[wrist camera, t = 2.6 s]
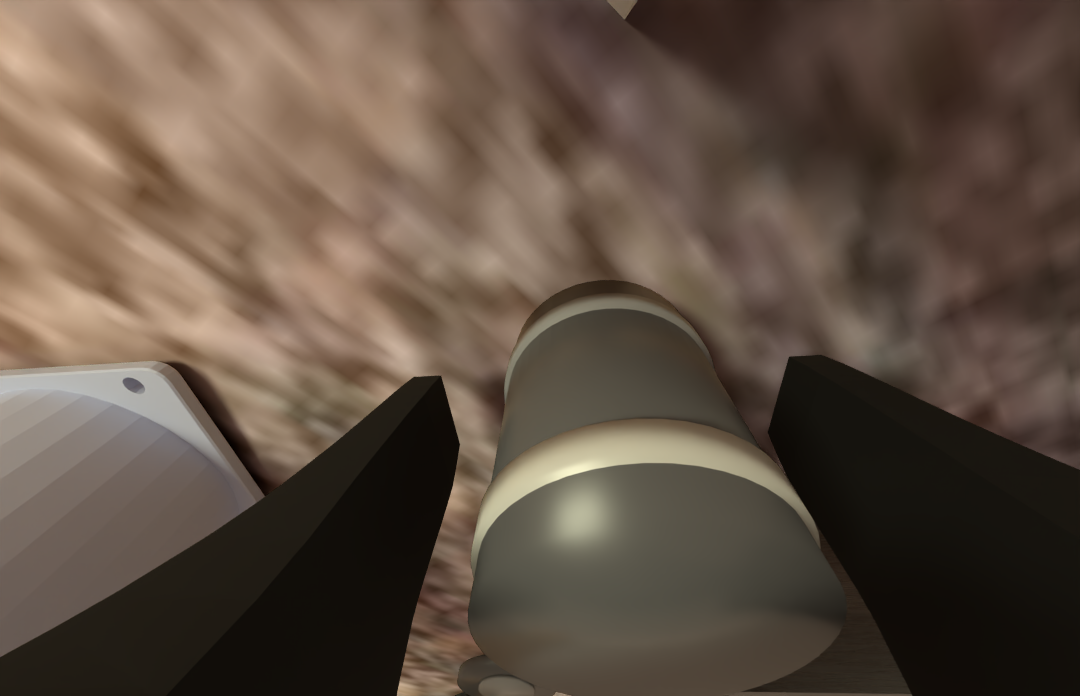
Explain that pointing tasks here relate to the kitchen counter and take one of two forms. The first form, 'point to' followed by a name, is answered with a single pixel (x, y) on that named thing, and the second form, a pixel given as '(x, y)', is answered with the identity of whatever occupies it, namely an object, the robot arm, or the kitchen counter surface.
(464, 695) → the ammunition clip
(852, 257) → the kitchen counter surface
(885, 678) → the camera body
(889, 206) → the kitchen counter surface
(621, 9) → the milk
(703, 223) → the kitchen counter surface
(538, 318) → the lens
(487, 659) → the lens cap
